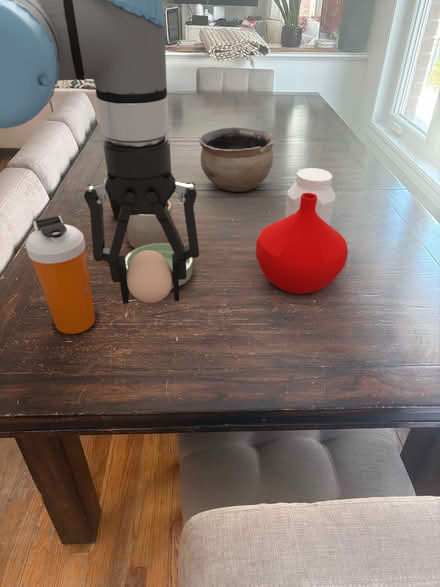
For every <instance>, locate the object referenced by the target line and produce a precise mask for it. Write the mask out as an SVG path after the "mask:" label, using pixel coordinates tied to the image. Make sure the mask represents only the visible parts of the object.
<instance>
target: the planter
mask: <svg viewBox="0 0 440 587" xmlns="http://www.w3.org/2000/svg"><path fill="white" fill-rule="evenodd" d="M166 205H167V208H168V211H169V213H170V216H171V218H172V220H173V204H172V202H171V200H170V199H169V200H168V201H167V203H166ZM173 221H174V220H173ZM126 231H127V239H128V240H127V241H128V243H129V245H130V247H132V248H134V249H136V248H139V247H141V246H144V245H148V244H153V243H169V241H168V239H167V237H166V235H165V233H164V230H163V228H162V226H161V224H160V222H159V221H158V220H157V218H156V215H149V214H144V213H142V214H139V215H131V214H130V218H129V221H128V224H127V228H126ZM169 244H170V243H169Z"/></svg>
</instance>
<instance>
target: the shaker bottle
mask: <svg viewBox="0 0 440 587" xmlns="http://www.w3.org/2000/svg"><path fill="white" fill-rule="evenodd" d="M33 228H34V231H32V232H31V233H30V234H29V236H28V237H27V238H26V241H25V245H24V246H25V249H26V252H27V257H28V258H29V259H30V260H31V262H32V266H33V267H34V271H35V273H36V276H37V279H38V281H39V285H40V287H41V290H42V293H43V295H44V298H45V300H46V301H45V302H46V304H47V306H48V309H49V312H50V314H51V317H52V320H53V323H54V325H55V328H56V329H57V331H59V332H60V333H62V334H65V335H75V334H79V333H83V332H85V331H87V330H89V329H90V328H92V326H93V325H94V323H95V321H96V314H95V308H94V306H95V305H94V301H93V294H92V288H91V287H92V286H91V280H90V275H89V268H88V262H87V257H86V256H87V255H86V246H87V245H86V242H85V236H84V234H83V232H82V231H81V230H79V229H78V228H77V227H76V226H73V225H70V224H66V223H64V221H63V219H62V217H61V216H60V215H58V214H57V215H54V216H49V217H45V218H40V219H36V220H35V219H34V220H33Z"/></svg>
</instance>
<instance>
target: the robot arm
mask: <svg viewBox="0 0 440 587" xmlns="http://www.w3.org/2000/svg"><path fill="white" fill-rule="evenodd" d="M165 29H166V22H165V20H164V10H163V1H162V0H0V129H11V128H16V127H19V126H21V125H24V124H26V123H29V122H30V121H32V120H33V119H34V118H35V117H37V116H38V115H39V114H40V113H41V111H42V110H43V109H44V108H45V107H46V106H47V105H48V104H49V102H50V101H51V99H52V98H53V96H54V93H55V90H56V86H57V84H58V82H60V81H85V80H93V83H94V86H95V98H96V105H97V112H98V119H99V124H100V125H99V126H100V132H101V135H102V136H103V137H105V138H104V140H103V141H102V145H103V152H104V158H105V165H106V172H107V177H106V178H107V180H106V183H101V184H97V185H96V184H94V183H89V184H87V185H86V188H85V191H84V192H83V193H84V194H83V197H84V198H83V199H84V200H85V202H86V205H87V206H88V208H89V212H90V213H89V214H90V215H89V216H90V226H91V228H90V229H91V238H92V239H91V242H92V243H91V244H92V256H93V258H92V259H93V260H94V261H95V262H102V261H103V262H106V263H107V264H108V266H109V272H110V278H111V281H112V282H113V283H119V285H120V286H119V287H120V292H121V293H120V294H121V299H122V305H129V302H130V294H131V292H130V291H129V289H128V287H127V283H126V272H127V269H126V261H125V258H126V255H123V254H121V250H122V246H123V242H124V239H125V235H126V231H127V224H128V221H129V218H130V214H131V215H139V214H142V213H144V214H149V215H156V218H157V220H158V221H159V222H160V224H161V226H162V228H163V230H164V233H165V235H166V237H167V239H168V241H169V243H170V245H171V247H172V250H173V252H174V254H172V269H173V287H174V288H173V302H180V286H179V280H184V279H186V277H187V274H186V261H187V259H189V258H191V257H192V259H197V258H199V256H200V248H199V242H198V240H199V239H198V231H197V226H196V225H197V224H196V217H195V209H194V206H195V203H196V199H197V194H198V192H197V186H196V183H195V182H194V181H188V182H187V183H184V182H180V181H176V179H175V177H174V176H173V173H172V164H171V162H172V161H171V160H172V159H171V158H172V157H171V141H170V139H169V138H168V134H169V133H170V122H169V121H170V120H169V99H168V98H169V97H168V88H167V86H168V85H167V59H166V34H165V32H166V31H165ZM174 193H176V194H177V195H178V200H179V201H180V202H181V203H183V212H184V220H185V225H186V226H185V228H186V234H187V240H188V244H187V245H185V244H184V242H183V240H182V237H181V236H180V233H179V231H178V229H177V226H176V225H175V222H174V220H172V218H173V217H172V218H171V216H170V213H169V211H168V208H167V205H166V203H167V201H168V200H169V201H170V198H171V197H172V196H173V195H174ZM108 194H109V195H110V196H111V197H112V198H113V199H114V200H115V201H116V202H117V204H118V205H119V206H120V207H121V210H120V214H119V218H118V221H117V222H116V226H115V230H114V234H113V238H112V240H111V241H112V242H111V245H110V248H107V247H106V241H105V221H104V220H105V219H104V205H103V204H104V203H105V200H106V195H108Z"/></svg>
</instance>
